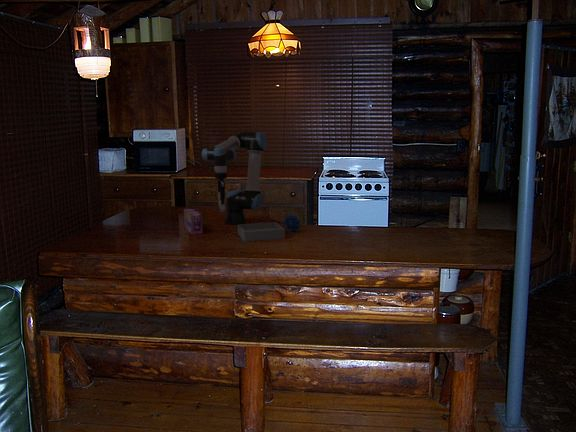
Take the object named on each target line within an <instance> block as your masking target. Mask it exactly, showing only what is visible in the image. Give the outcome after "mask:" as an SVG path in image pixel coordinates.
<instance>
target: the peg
mask: <svg viewBox="0 0 576 432" xmlns="http://www.w3.org/2000/svg"><path fill="white" fill-rule="evenodd" d="M217 197H218V199H217V201H218V212H219V213H223V212H224V213H225V212H226V208H225V209H224V210H220V200H219V199H220V192H218V191H217ZM224 201H225V202H226V198H225V199H224Z"/></svg>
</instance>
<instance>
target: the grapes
mask: <svg viewBox="0 0 576 432" xmlns="http://www.w3.org/2000/svg"><path fill="white" fill-rule="evenodd" d="M283 224H284V225H285V226H284V227H285V228H284V229H285V230H288V231H290V232H291V233H293V232H296V233H297V232H298V231H299V229H301V228H302V226H301V220H300V219H298V217H297V216H296V215H292V214H290V213H289V214H288V215H285V216H284V220H283Z"/></svg>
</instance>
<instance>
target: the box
mask: <svg viewBox="0 0 576 432" xmlns="http://www.w3.org/2000/svg"><path fill="white" fill-rule="evenodd" d="M285 231H286V228H284V227H283V226H282V225H280V224H279V223H277V221H273V222H258V223H244V224H237V234H238V235H239V237H240V238H241V239H242V240H243V242H257V241H269V240H270V241H271V240H282V239H283V240H285V238H286V234H285V233H286V232H285Z"/></svg>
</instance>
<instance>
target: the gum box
mask: <svg viewBox="0 0 576 432" xmlns="http://www.w3.org/2000/svg"><path fill="white" fill-rule="evenodd" d="M183 219H184V221H183V222H184V223H183V224H184V228H185V230H187V231H188V232H189V233H190V234H191V235H201V234H204V229H203V227H204V226H203V213H202V212H201V211H199V210H198V209H197V208H196V207H189V208H188V207H187V208H185V207H184V208H183Z"/></svg>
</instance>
